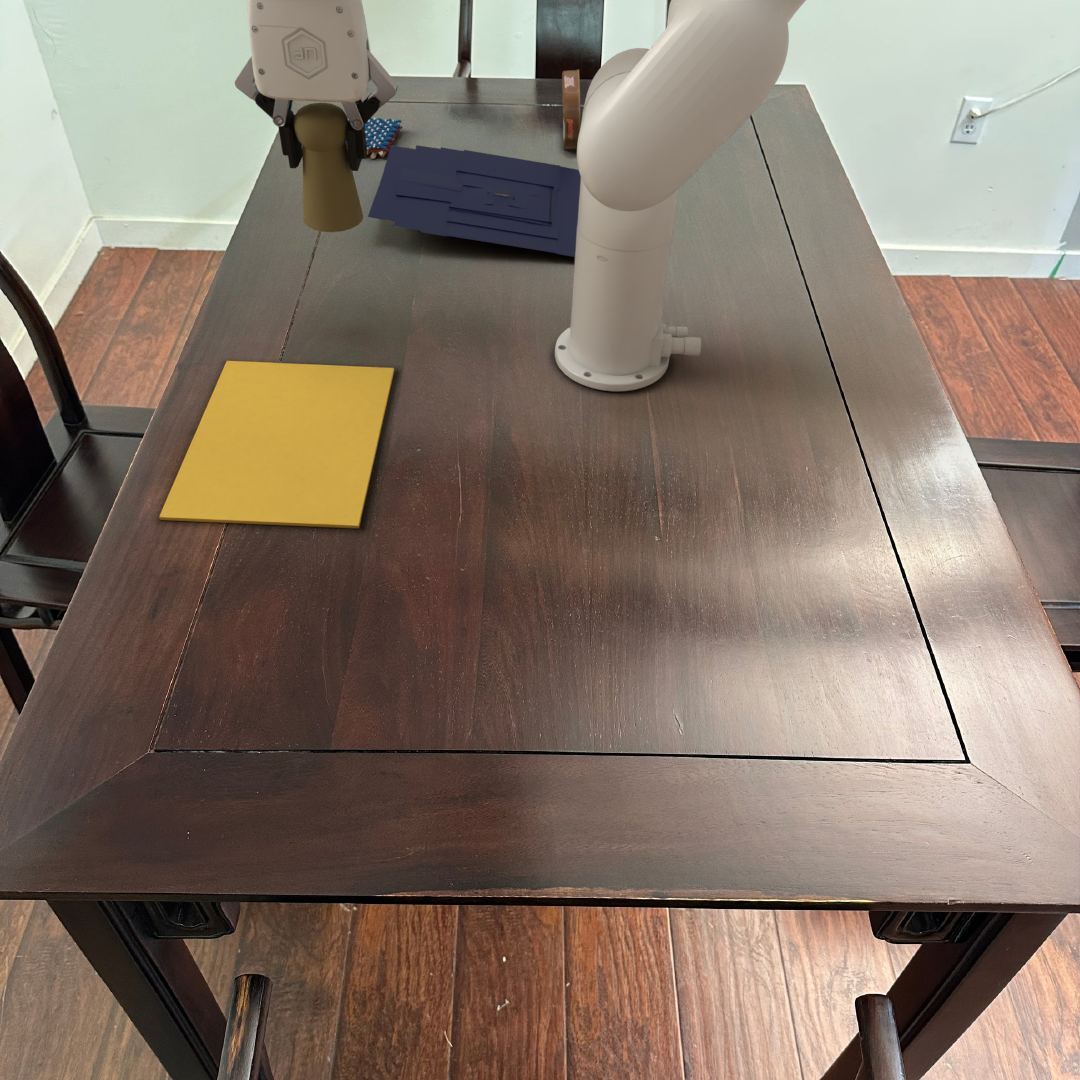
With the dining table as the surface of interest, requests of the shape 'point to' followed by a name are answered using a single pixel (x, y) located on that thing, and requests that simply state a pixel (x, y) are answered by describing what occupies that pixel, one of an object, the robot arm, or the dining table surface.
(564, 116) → the tin
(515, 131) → the dining table surface
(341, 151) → the tan pawn
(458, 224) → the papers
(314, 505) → the board
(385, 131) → the woven mat
